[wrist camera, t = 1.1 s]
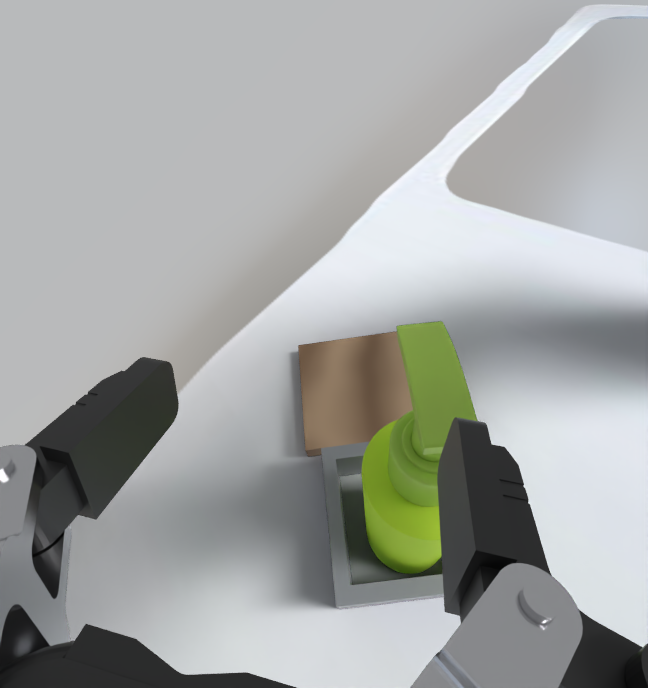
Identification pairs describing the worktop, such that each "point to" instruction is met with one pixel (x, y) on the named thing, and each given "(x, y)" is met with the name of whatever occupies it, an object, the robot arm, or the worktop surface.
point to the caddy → (346, 594)
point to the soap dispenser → (414, 452)
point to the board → (351, 389)
